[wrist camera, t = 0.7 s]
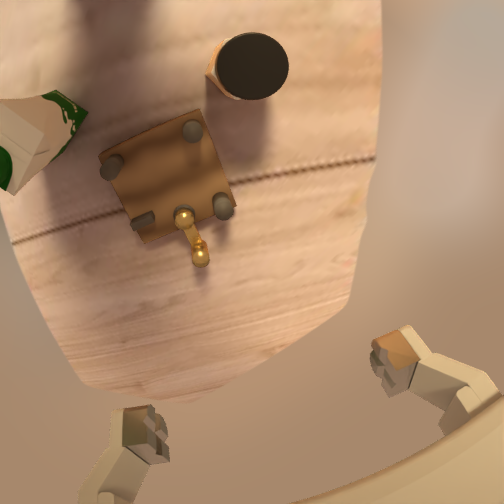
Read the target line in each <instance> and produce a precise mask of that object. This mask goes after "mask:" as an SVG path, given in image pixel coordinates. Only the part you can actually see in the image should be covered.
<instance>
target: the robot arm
mask: <svg viewBox="0 0 504 504" xmlns="http://www.w3.org/2000/svg"><path fill="white" fill-rule="evenodd" d="M371 346H372V348H373V351H372V352H371V353H370V362H371V367H372V369H373V371H374V373H375V375H376V376H377V377H380V378H382V387H383V388H384V390H385V392H386V393H387V395H388V397H389V398H390V397H392V396H394V395H397V394H399V393H401V392H403V391H406V390H407V389H409V391H410V392H412V393H414V394H416V395H417V396H419V397H421V398H423V399H424V400H426V401H428V402H430V403H431V404H433V405H435V406H437V407H439V408H440V409H442V410H444V411H445V413H444V414H443V416H442V417H441V419H440V421H439V423H438V425H439V427H440V428H441V430H442V432H443V433H444V435H445V436H444V437H443V438H441V439H440V440H438V441H436V442H434V443H433V444H431V445H430V446H427V447H426V448H424V449H422V450H420V451H418V452H417V453H415V454H413V455H411V456H409V457H407V458H405V459H403V460H401V461H399V462H397V463H395V464H393V465H391V466H389V467H387V468H385V469H383V470H380V471H378V472H376V473H374V474H371V475H369V476H367V477H365V478H362V479H359V480H357V481H355V482H352V483H349V484H347V485H344V486H342V487H339V488H336V489H333V490H331V491H328V492H325V493H322V494H319V495H316V496H313V497H310V498H307V499H303V500H299V501H296V502H292V503H289V504H504V395H502V394H501V393H500V391H499V390H498V389H497V387H496V386H495V385H494V383H493V382H492V381H491V379H490V378H489V377H488V376H487V374H486V373H485V372H483V371H481V370H478V369H476V368H473V367H471V366H468V365H466V364H463V363H461V362H458V361H456V360H453V359H450V358H448V357H446V356H443V355H441V354H438V353H434V354H432V352H431V351H430V350H429V349H428V347H427V346H426V345H425V344H424V342H423V341H422V340H421V338H420V337H419V336H418V334H417V333H416V332H415V331H414V329H413V328H412V327H411V326H410V325H406V326H404V327H401V328H399V329H397V330H394V331H392V332H389V333H387V334H385V335H383V336H380V337H378V338H376V339H373V341H372V343H371ZM167 437H168V431H167V427H166V423H165V421H164V419H163V417H162V416H161V415H160V414H157V413H155V408H154V407H153V406H152V405H151V404H150V405H144V406H138V407H131V408H123V409H116V410H113V411H112V413H111V423H110V440H109V448H106V449H105V451H104V452H103V454H102V455H101V457H100V458H99V460H98V461H97V463H96V464H95V466H94V467H93V469H92V470H91V472H90V473H89V475H88V476H87V478H86V479H85V481H84V482H83V484H82V486H81V487H80V488H79V490H78V504H133V502H134V500H135V497H136V495H137V493H138V491H139V488H140V487H141V485H142V482H143V480H144V478H145V476H146V474H147V472H148V469H149V467H150V465H152V464H159V463H166V462H170V457H169V447H168V446H167V445H166V443H165V440H166V439H167Z"/></svg>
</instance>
